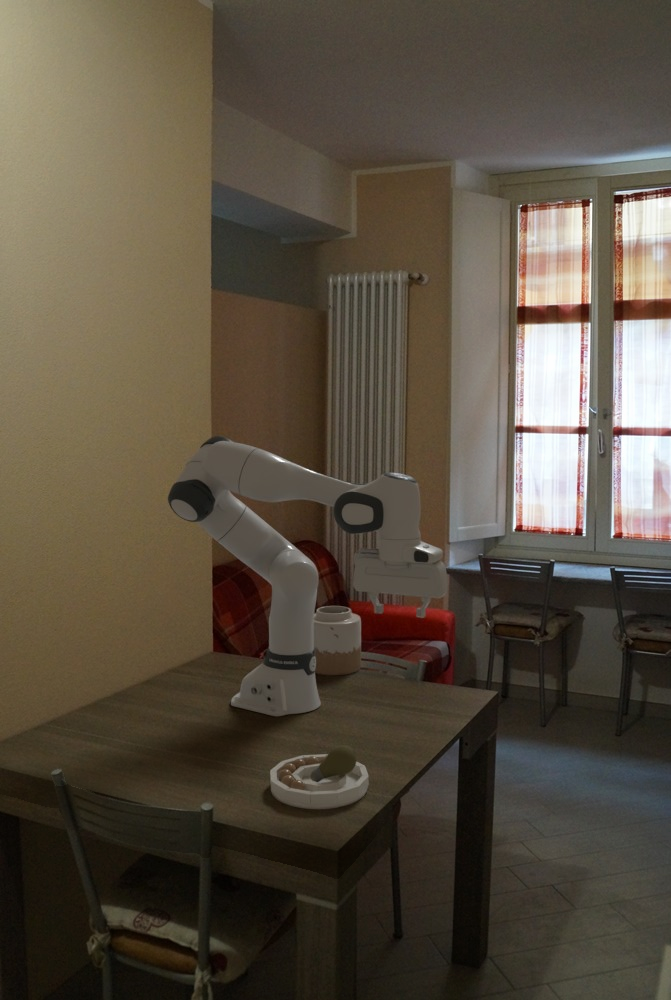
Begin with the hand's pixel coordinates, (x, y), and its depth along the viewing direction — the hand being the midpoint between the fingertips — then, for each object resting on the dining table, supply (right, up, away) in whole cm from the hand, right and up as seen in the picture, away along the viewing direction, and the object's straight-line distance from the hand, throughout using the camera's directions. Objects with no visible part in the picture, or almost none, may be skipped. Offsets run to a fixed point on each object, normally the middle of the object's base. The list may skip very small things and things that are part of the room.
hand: (399, 614), depth 198 cm
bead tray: (-17, -33, -13) cm, 39 cm away
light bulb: (-19, -31, -14) cm, 38 cm away
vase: (-14, -23, +67) cm, 72 cm away
